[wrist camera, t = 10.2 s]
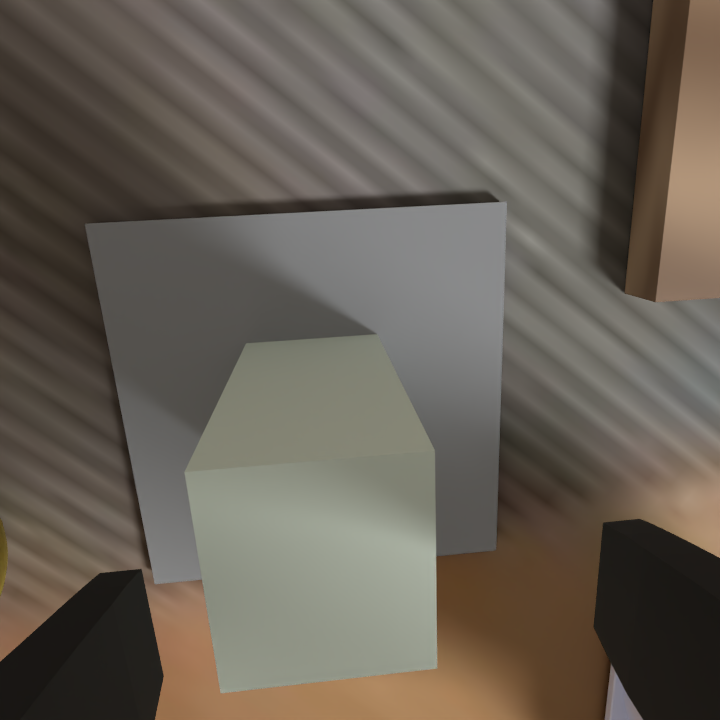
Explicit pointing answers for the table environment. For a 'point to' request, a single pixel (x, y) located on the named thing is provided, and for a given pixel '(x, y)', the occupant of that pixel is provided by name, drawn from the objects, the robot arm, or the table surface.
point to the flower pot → (3, 556)
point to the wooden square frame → (678, 158)
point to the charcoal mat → (306, 321)
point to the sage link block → (315, 518)
